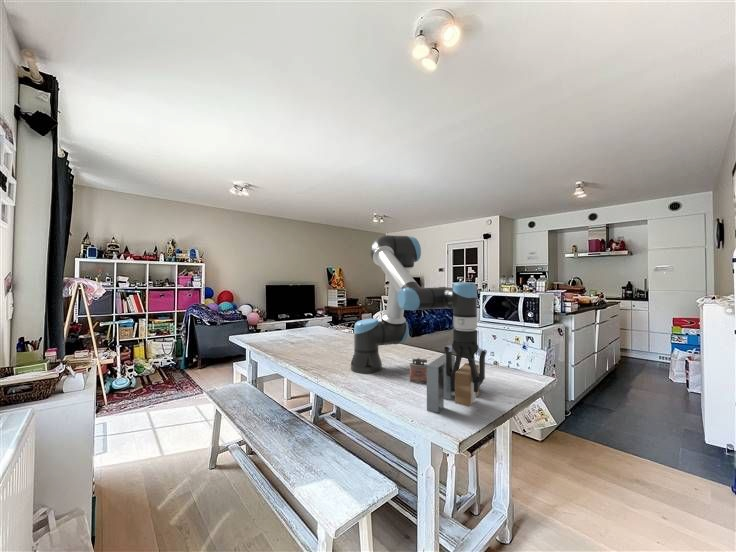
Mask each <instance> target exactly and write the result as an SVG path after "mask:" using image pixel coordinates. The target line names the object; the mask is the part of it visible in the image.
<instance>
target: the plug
mask: <svg viewBox="0 0 736 552" xmlns="http://www.w3.org/2000/svg"><path fill="white" fill-rule="evenodd" d="M476 368H477V373H478V377H479V364H476ZM472 381H473V377H472V373H471V369H470V364H469V362H465V363H464V364H463V365H461V366H460V367H459V370H457V371H456V372H455V396H454V404H456V405H461V406H465V407H470V406H471V405H472V403H471V382H472ZM479 394H480V389H479V390H478V392H475V399H476V397H478V395H479Z"/></svg>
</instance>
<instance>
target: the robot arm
mask: <svg viewBox="0 0 736 552" xmlns="http://www.w3.org/2000/svg"><path fill="white" fill-rule="evenodd" d="M369 251H370V253H369V254H370V259H371V260H372V261H373V262H374V264H375V265H376V266H379V267H380V269H381V271H382V272H383V273H384V274H385V276H386V277H387V278H388V280H389V286H388V293H387V301H386V302H387V303H386V310H385V313H384V314H383V315H382V316H381V321H379V320H378V318H365V319H361V320H357V321H356V322H355V323H354V326H353V327H354V329H353V338H354V339H353V340H354V341H353V349H354V350H353V352H354V353H353V356H352V359H351V362H350V370H351V371H353V372H355V373H361V374H371V373H378V372H380V371H381V370H382V369H383V364H382V360H381V357H380V353H379V347H380V346H388V345H389V346H391V345H400V344H403V343H405V342H406V341H407V339H408V337H409V333H410V329H409V324H408V322H407V321H406V317H405V316H404V314H405V313H404V312H405V311H418V310H420V311H421V310H422V311H423V310H437V309H446V310H447V309H449V310H452V311H453V312H452V317H453V319H452V327H453V330H452V334H453V335H452V343H451V344H450V345H446V346H444V348H443V349H444V352H445V354H446V375H447V376H450V377H451V378H452V387H453V388H455V372H456V371H457V370H459V369H460V367H461V362H462V358H466V359H467V362H468V363H469V364H470V369H471V373H472V377H473V381H472V382H471V404H474V403H475V402H476V398H475V392H478V390H479V391H480V387H479V382H482V381H483V382H484V380H485V379H486V374H485V373H486V370H485V369H486V356H487V353H488V350H486V349H482V348H480V346H479V345H478V330H476V329H477V328H478V290H477V289H478V287H477V283H475V282H463V281H462V282H457V281H456V282H454V283H453V284H452V287H448V286H447V287H446V286H436V287H421V286H420V285H419V284H418V282H417V281H416V280H415V279H414V278H413V276H412V275H411V273H410V272H411V270H412V269H413V268H414V266H415V263H416V262H418V261H420V259H421V256H422V248H421V244H420V242H419V240H418V239H417V238H416V237H414V236H408V235H390V234H386V235H381V236H379V237H378V238H376V239H374V241H373V242H372V244H371V245H370V249H369ZM453 351H454V352H455V354H456V355H455V364H454V369H453V372H452V355H453ZM477 352H478V356H479V361H478V362H479V364H478V365H479V377H478V373H477V368H476V365H477V364H476V361H475V354H476V353H477ZM483 382H482V383H483Z"/></svg>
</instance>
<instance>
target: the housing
mask: <svg viewBox="0 0 736 552" xmlns="http://www.w3.org/2000/svg"><path fill="white" fill-rule="evenodd" d="M455 360H456V355H455V354H452V372H453V369H454V364H455ZM453 398H455V388H453V387H452V378H451V377H450V376H447V375H446V353H443V354H442V355H440V356H439V357H438V358H436V359H434V360H433V361H432V362H430V363H429V364H427V384H426V411H428V412H431V413H435V414H439V413H440V412H441V411H442V410H443V409H444V407H445V402H444V401H445V400H450V401H451V400H452V399H453Z"/></svg>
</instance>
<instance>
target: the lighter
mask: <svg viewBox="0 0 736 552" xmlns="http://www.w3.org/2000/svg"><path fill="white" fill-rule="evenodd" d="M426 363H428V360H427V358H420V357H417V358H412V362H410V363H409V382H410V383H414V384H419V385H421V384H422V385H427V365H428V364H426Z"/></svg>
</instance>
